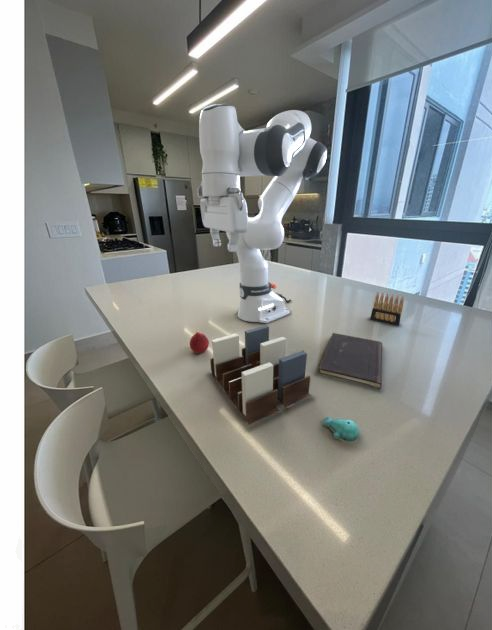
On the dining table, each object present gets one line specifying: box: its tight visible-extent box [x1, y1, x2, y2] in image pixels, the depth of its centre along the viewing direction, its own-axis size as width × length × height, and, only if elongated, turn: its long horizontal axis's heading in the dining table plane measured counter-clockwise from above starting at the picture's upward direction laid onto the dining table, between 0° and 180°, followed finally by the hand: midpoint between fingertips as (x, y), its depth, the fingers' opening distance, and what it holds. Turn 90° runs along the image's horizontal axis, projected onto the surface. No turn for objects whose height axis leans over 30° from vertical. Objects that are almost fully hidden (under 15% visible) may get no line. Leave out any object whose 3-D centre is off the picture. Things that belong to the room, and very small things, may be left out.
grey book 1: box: [244, 324, 270, 365], centre depth 74 cm, size 7×2×11 cm, turn 122°
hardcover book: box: [318, 332, 383, 390], centre depth 79 cm, size 16×23×2 cm
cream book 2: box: [242, 362, 273, 416], centre depth 57 cm, size 7×2×11 cm, turn 122°
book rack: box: [209, 347, 312, 426], centre depth 67 cm, size 18×22×6 cm
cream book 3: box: [260, 336, 287, 365], centre depth 68 cm, size 7×2×11 cm, turn 122°
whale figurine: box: [321, 416, 360, 444], centre depth 53 cm, size 6×7×4 cm
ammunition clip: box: [369, 291, 405, 327], centre depth 102 cm, size 11×2×12 cm, turn 55°
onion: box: [189, 330, 210, 354], centre depth 81 cm, size 6×6×8 cm
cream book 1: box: [211, 332, 241, 376], centre depth 69 cm, size 7×2×11 cm, turn 122°
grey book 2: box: [278, 350, 308, 401], centre depth 62 cm, size 7×2×11 cm, turn 122°
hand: (224, 248), depth 67 cm, fingers open, 8 cm apart
